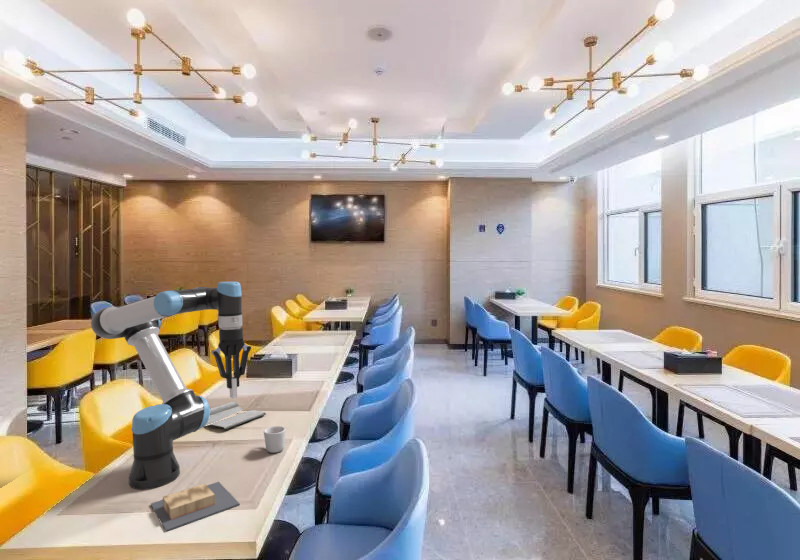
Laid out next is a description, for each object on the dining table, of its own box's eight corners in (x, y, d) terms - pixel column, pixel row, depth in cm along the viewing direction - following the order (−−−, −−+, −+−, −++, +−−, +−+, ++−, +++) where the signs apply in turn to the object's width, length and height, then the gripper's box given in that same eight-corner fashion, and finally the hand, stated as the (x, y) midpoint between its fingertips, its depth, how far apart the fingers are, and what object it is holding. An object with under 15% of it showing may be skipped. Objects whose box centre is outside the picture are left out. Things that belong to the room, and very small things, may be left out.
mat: (224, 433, 196) (224, 422, 196) (189, 424, 208) (189, 414, 208) (266, 416, 216) (266, 406, 216) (232, 409, 228) (231, 399, 228)
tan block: (205, 492, 145) (163, 506, 137) (204, 483, 145) (162, 496, 137) (215, 504, 138) (171, 519, 131) (214, 494, 138) (170, 509, 130)
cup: (257, 448, 179) (256, 428, 179) (275, 442, 185) (274, 422, 184) (271, 456, 172) (270, 435, 171) (290, 450, 177) (289, 429, 177)
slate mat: (150, 505, 139) (150, 503, 139) (218, 483, 152) (218, 481, 152) (166, 531, 126) (166, 530, 126) (239, 505, 138) (239, 503, 138)
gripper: (214, 331, 149) (217, 403, 151) (254, 326, 158) (256, 395, 159) (207, 328, 155) (210, 398, 156) (245, 324, 163) (248, 390, 165)
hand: (233, 396), depth 158 cm, fingers closed
